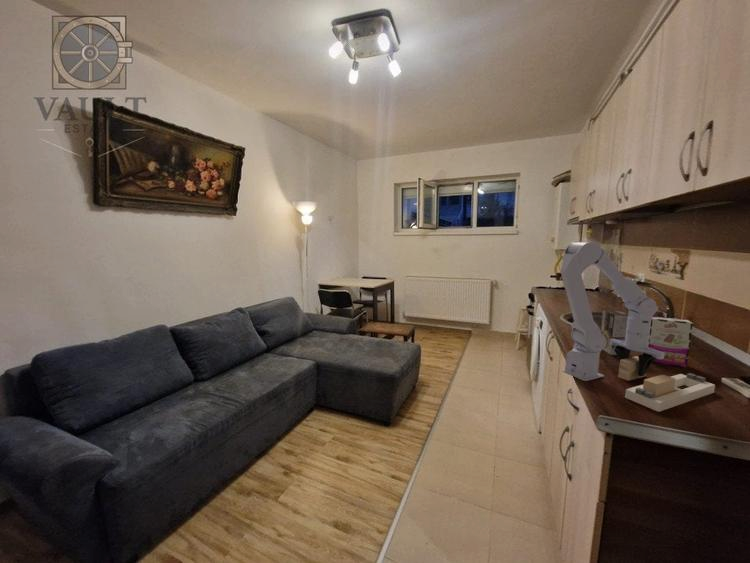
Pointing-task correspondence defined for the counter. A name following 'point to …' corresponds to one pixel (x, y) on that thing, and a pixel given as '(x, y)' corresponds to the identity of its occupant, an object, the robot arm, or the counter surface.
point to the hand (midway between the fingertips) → (632, 372)
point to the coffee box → (613, 328)
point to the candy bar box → (670, 340)
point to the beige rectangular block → (629, 368)
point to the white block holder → (669, 391)
